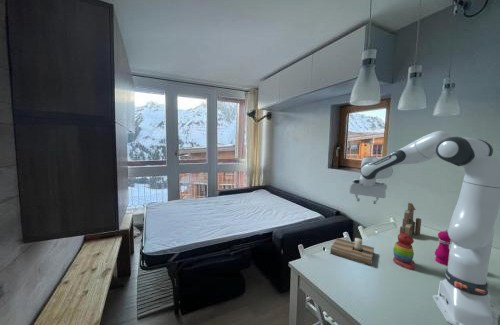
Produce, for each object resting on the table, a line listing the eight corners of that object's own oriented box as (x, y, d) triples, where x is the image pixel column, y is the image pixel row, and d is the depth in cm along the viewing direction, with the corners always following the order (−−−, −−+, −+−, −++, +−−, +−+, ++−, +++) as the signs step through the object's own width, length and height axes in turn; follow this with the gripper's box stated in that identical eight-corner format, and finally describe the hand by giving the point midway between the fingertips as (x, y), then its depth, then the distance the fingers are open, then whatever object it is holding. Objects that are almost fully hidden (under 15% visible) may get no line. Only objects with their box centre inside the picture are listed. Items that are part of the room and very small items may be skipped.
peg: (360, 257, 123) (361, 241, 122) (353, 255, 125) (354, 239, 125) (361, 254, 126) (362, 238, 126) (354, 252, 129) (355, 237, 128)
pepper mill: (454, 266, 115) (457, 232, 114) (439, 264, 117) (442, 231, 115) (444, 259, 122) (448, 227, 121) (431, 258, 124) (434, 226, 122)
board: (370, 265, 114) (371, 259, 114) (330, 253, 127) (330, 248, 126) (373, 252, 129) (373, 247, 128) (336, 242, 141) (337, 237, 141)
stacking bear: (414, 271, 110) (416, 239, 109) (391, 263, 117) (393, 233, 115) (414, 262, 118) (417, 233, 117) (393, 256, 125) (395, 228, 124)
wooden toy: (409, 238, 152) (411, 205, 150) (399, 234, 158) (402, 203, 156) (420, 235, 158) (423, 203, 156) (411, 231, 164) (413, 201, 162)
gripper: (387, 182, 127) (385, 204, 128) (351, 179, 139) (350, 199, 140) (387, 184, 122) (385, 206, 123) (349, 180, 134) (348, 200, 135)
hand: (366, 202), depth 131 cm, fingers open, 8 cm apart
